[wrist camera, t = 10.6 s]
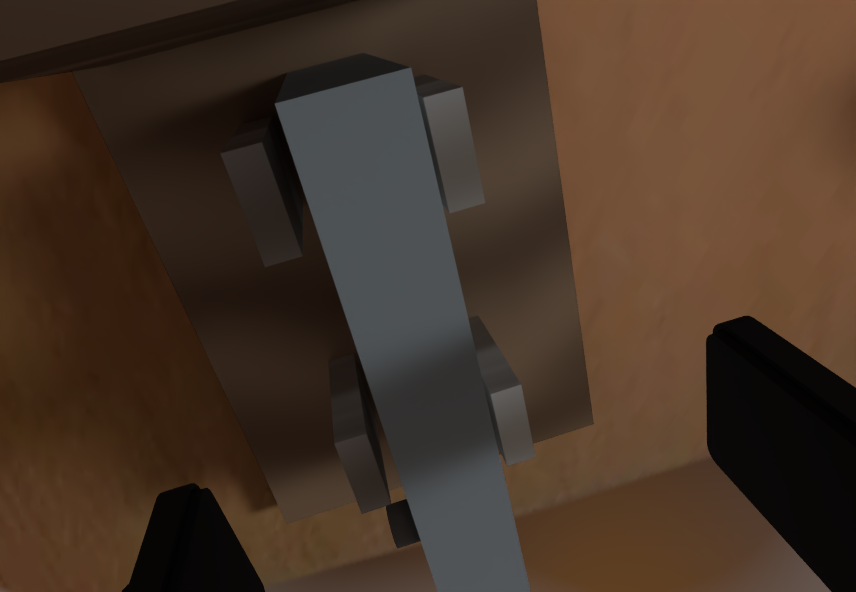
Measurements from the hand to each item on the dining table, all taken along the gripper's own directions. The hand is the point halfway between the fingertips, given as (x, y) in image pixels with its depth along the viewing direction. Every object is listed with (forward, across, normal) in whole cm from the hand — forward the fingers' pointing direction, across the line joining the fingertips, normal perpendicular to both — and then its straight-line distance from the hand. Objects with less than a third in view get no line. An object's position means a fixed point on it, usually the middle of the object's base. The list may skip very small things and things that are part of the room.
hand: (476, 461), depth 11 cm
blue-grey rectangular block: (+11, +1, +1) cm, 11 cm away
